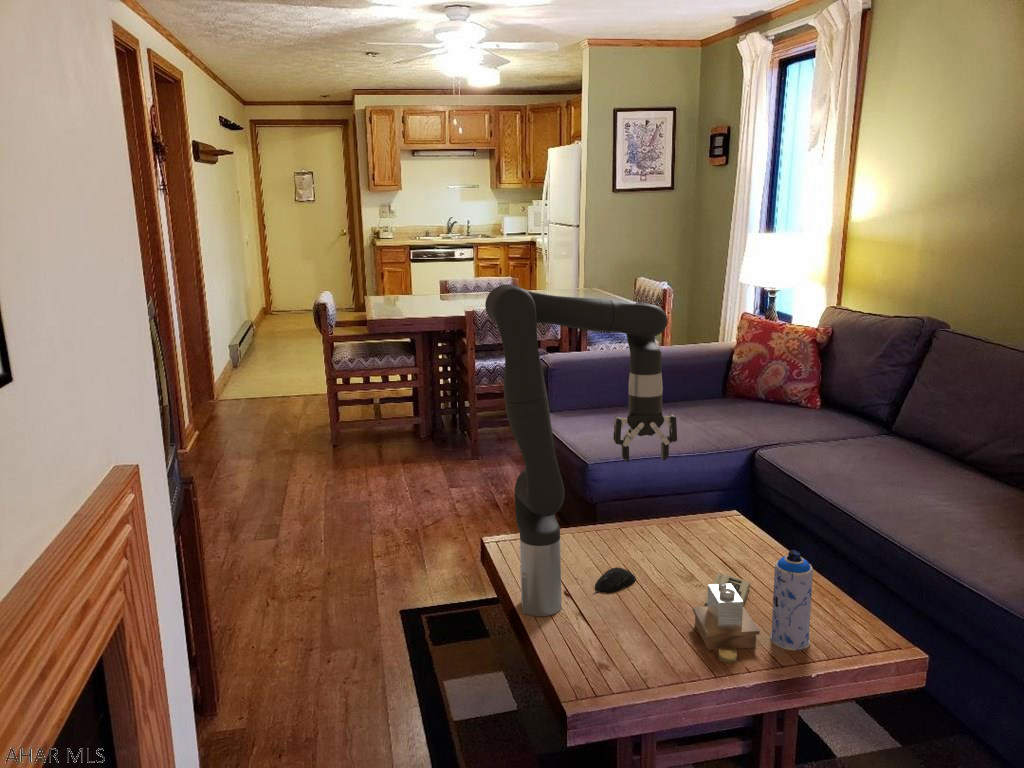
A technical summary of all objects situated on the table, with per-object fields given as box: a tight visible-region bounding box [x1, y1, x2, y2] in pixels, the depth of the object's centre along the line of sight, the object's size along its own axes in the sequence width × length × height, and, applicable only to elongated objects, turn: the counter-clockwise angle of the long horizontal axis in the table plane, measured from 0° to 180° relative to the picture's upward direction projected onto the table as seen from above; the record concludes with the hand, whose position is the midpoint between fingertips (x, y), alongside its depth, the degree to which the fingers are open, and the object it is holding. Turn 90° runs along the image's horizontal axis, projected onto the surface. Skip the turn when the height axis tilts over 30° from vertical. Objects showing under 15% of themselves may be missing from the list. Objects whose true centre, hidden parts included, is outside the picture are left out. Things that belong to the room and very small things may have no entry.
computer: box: [703, 573, 751, 607], centre depth 181 cm, size 16×8×3 cm, turn 155°
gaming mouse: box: [592, 566, 637, 596], centre depth 190 cm, size 6×15×4 cm, turn 131°
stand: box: [692, 605, 761, 651], centre depth 166 cm, size 11×11×4 cm
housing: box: [707, 583, 744, 629], centre depth 164 cm, size 8×5×7 cm, turn 2°
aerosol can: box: [770, 549, 814, 651], centre depth 161 cm, size 8×8×20 cm
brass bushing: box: [717, 645, 738, 665], centre depth 158 cm, size 4×4×2 cm
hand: (644, 460), depth 179 cm, fingers open, 8 cm apart
